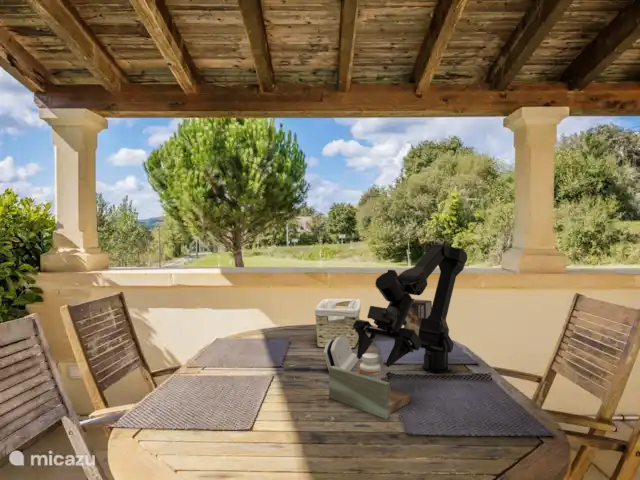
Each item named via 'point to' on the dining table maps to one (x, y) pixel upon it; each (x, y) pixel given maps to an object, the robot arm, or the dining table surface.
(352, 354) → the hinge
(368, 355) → the supplement bottle
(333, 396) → the wall board ledge
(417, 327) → the coffee box
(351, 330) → the storage basket
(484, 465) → the dining table surface
